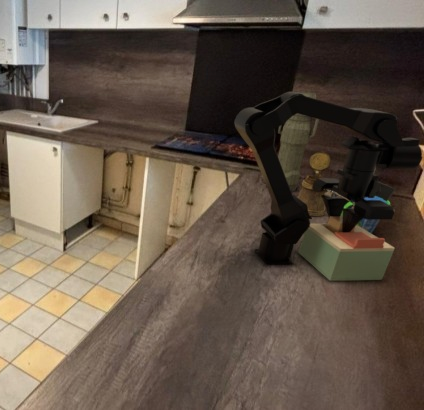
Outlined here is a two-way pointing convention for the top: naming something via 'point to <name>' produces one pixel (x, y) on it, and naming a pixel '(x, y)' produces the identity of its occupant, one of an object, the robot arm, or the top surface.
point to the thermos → (295, 143)
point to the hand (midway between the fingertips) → (339, 230)
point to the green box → (343, 260)
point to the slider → (360, 240)
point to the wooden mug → (307, 193)
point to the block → (336, 224)
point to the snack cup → (365, 223)
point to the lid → (340, 244)
